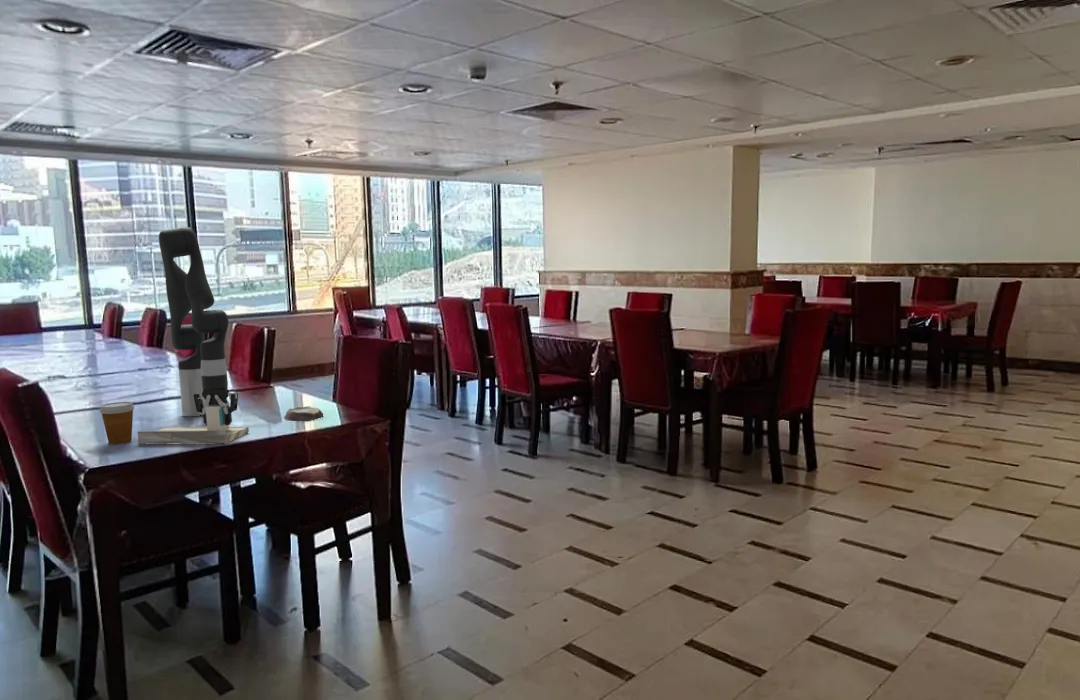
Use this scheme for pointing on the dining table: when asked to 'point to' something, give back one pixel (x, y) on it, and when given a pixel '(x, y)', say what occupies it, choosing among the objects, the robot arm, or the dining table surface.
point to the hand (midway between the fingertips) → (218, 424)
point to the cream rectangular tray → (190, 435)
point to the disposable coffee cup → (118, 421)
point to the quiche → (303, 414)
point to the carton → (215, 418)
